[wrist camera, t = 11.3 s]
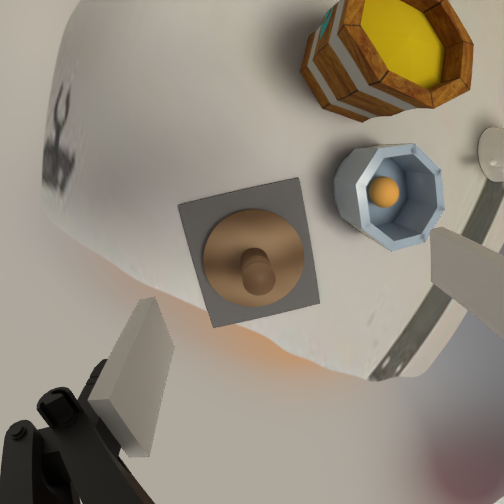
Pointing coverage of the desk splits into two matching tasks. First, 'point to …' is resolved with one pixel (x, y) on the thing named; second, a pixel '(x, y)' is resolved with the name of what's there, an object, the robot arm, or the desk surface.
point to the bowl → (409, 201)
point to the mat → (261, 197)
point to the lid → (253, 258)
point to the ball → (383, 192)
